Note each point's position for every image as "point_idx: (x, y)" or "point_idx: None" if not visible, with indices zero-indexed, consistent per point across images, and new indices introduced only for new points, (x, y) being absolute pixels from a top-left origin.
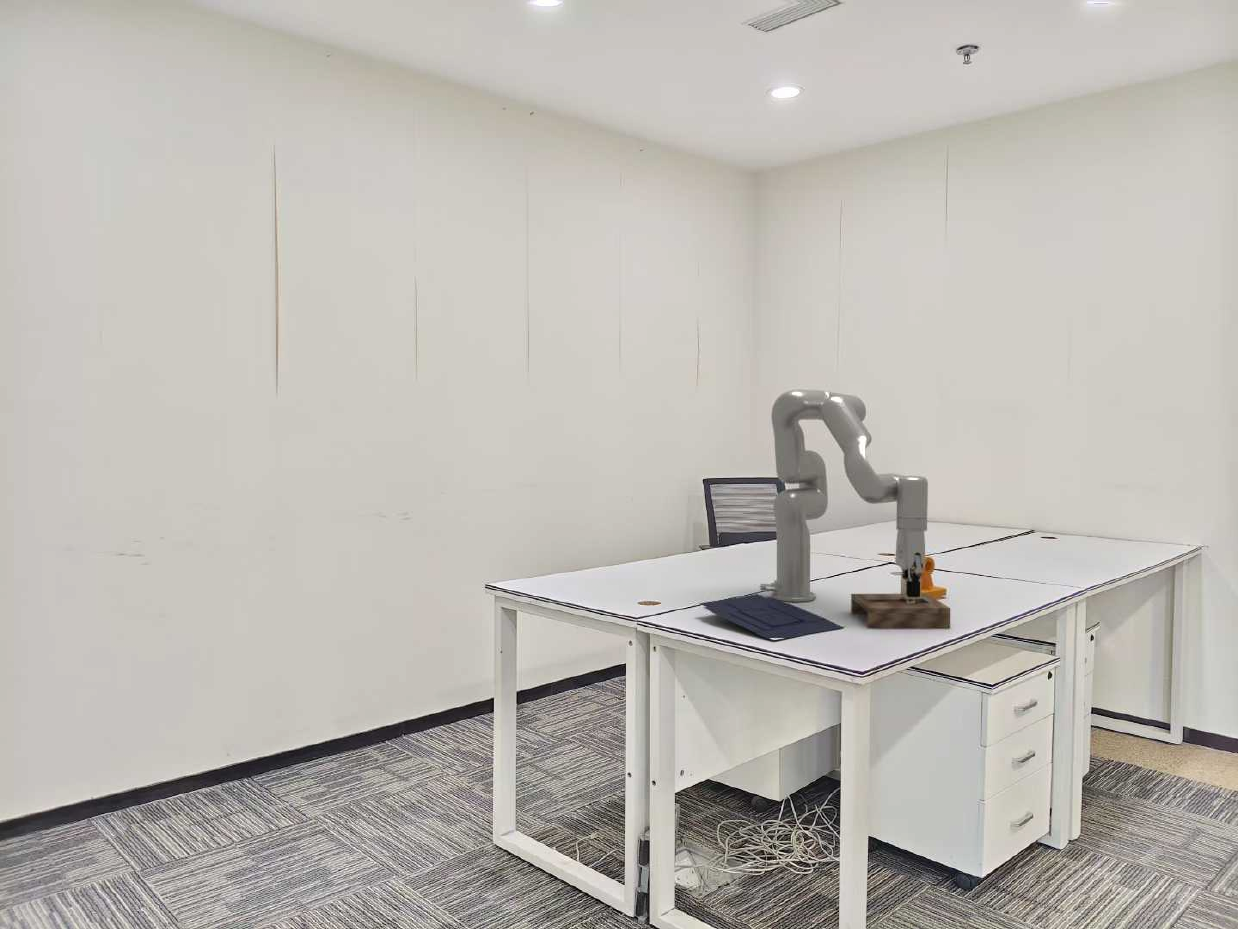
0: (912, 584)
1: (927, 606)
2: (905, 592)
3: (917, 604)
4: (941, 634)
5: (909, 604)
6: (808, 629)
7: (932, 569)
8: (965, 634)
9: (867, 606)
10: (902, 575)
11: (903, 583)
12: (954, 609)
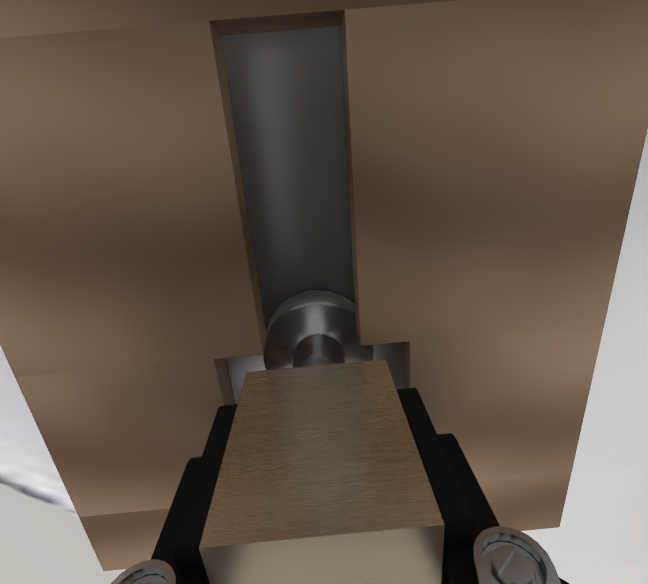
0: (159, 553)
1: (120, 471)
2: (237, 413)
3: (178, 424)
4: (2, 411)
5: (162, 372)
6: None
7: None
8: (44, 499)
9: None
10: (496, 563)
11: (307, 474)
12: (540, 543)
